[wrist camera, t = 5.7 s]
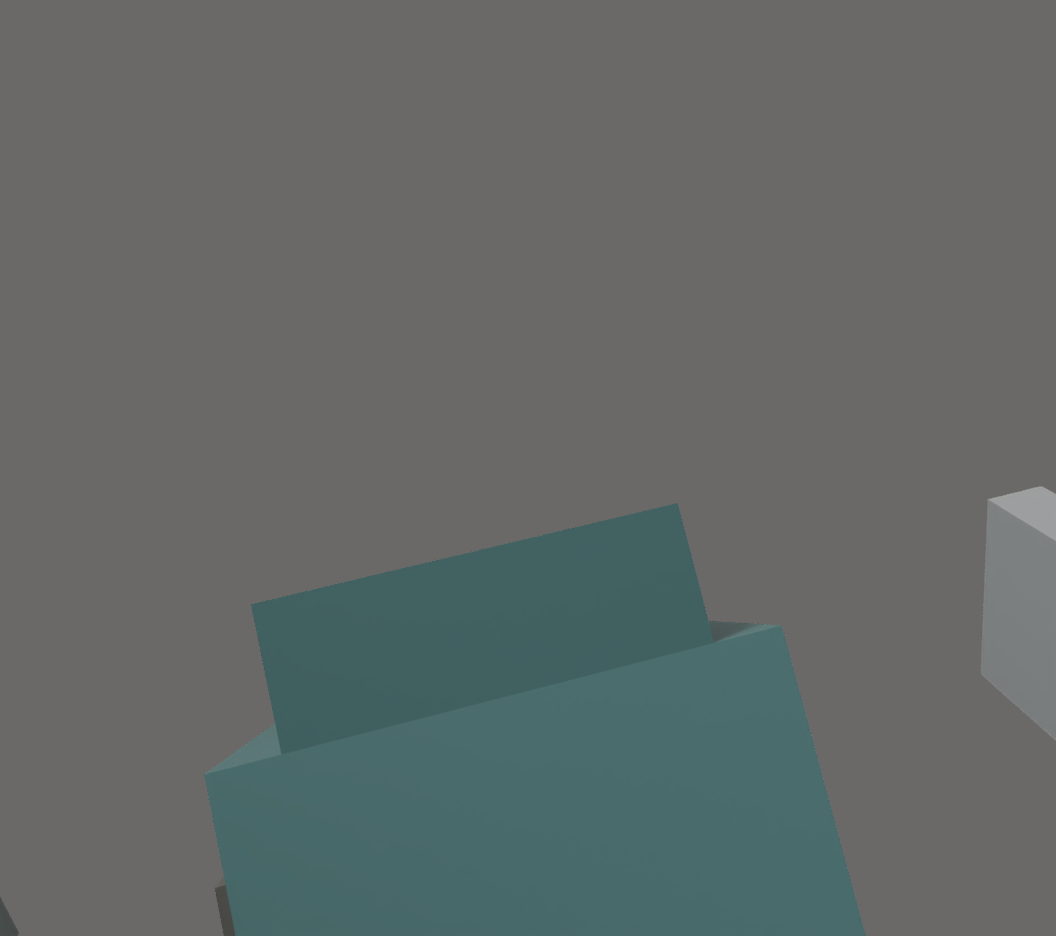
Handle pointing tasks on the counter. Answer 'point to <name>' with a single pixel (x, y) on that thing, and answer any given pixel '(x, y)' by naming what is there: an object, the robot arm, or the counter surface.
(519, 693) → the teal notched bar
